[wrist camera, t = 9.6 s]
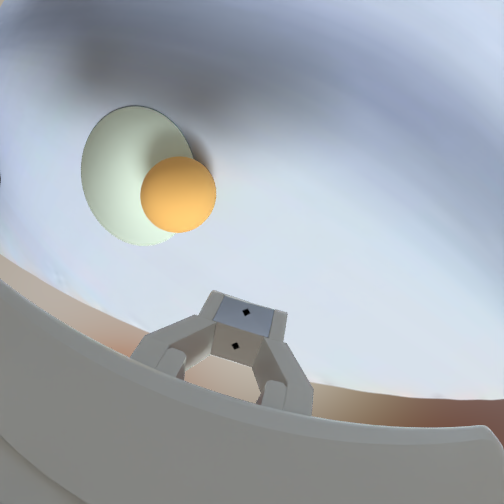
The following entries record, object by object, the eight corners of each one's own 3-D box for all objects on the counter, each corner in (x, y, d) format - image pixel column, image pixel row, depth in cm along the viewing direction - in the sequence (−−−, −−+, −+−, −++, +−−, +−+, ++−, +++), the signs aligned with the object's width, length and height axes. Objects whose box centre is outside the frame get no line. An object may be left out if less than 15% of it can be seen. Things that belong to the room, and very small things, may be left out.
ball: (212, 241, 18) (220, 222, 23) (210, 153, 16) (219, 155, 21) (132, 242, 17) (156, 224, 23) (125, 160, 16) (153, 159, 21)
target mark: (69, 192, 25) (68, 193, 25) (116, 82, 19) (114, 81, 18) (153, 269, 26) (152, 270, 26) (227, 163, 20) (227, 164, 20)
